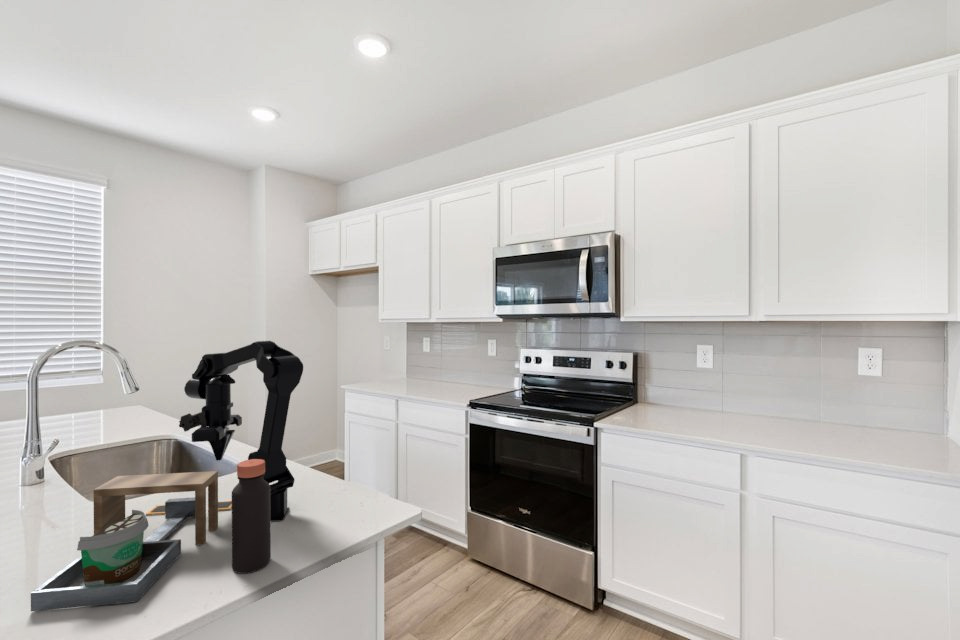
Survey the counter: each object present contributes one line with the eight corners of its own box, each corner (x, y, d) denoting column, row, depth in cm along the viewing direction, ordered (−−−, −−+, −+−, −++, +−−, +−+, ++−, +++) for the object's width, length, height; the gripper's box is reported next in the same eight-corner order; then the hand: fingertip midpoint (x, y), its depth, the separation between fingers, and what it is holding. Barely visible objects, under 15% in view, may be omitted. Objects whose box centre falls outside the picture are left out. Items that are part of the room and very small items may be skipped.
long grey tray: (219, 512, 112) (219, 495, 112) (136, 601, 77) (136, 578, 77) (149, 516, 110) (149, 500, 109) (30, 611, 74) (30, 587, 74)
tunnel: (218, 527, 105) (217, 471, 105) (203, 544, 97) (202, 483, 97) (117, 534, 101) (117, 476, 101) (93, 552, 93) (93, 489, 93)
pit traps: (236, 502, 119) (236, 500, 119) (229, 510, 114) (229, 508, 114) (156, 507, 116) (156, 505, 116) (145, 515, 111) (145, 513, 111)
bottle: (246, 554, 93) (246, 456, 93) (277, 556, 92) (277, 458, 92) (223, 572, 86) (223, 467, 86) (256, 575, 85) (256, 469, 85)
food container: (111, 597, 79) (110, 539, 79) (77, 595, 79) (76, 538, 79) (164, 559, 91) (164, 509, 91) (134, 558, 91) (134, 508, 91)
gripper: (199, 396, 127) (199, 452, 127) (167, 409, 109) (168, 474, 109) (242, 394, 130) (242, 449, 130) (218, 406, 111) (218, 470, 111)
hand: (219, 459), depth 120 cm, fingers closed
